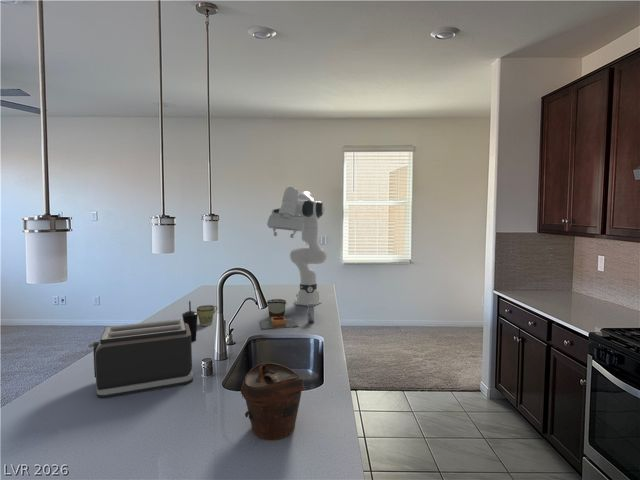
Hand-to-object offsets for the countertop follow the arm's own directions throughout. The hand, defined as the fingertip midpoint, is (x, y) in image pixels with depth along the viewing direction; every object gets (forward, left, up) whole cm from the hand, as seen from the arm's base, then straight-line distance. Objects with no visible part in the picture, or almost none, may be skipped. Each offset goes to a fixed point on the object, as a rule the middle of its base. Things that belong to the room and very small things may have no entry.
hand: (283, 236), depth 213 cm
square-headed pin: (-4, +16, -50) cm, 53 cm away
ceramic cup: (-16, -42, -51) cm, 68 cm away
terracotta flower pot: (+101, -18, -51) cm, 114 cm away
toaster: (+58, -62, -51) cm, 99 cm away
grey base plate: (-4, -3, -50) cm, 51 cm away
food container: (-23, -1, -51) cm, 56 cm away
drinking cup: (+13, -49, -51) cm, 71 cm away
